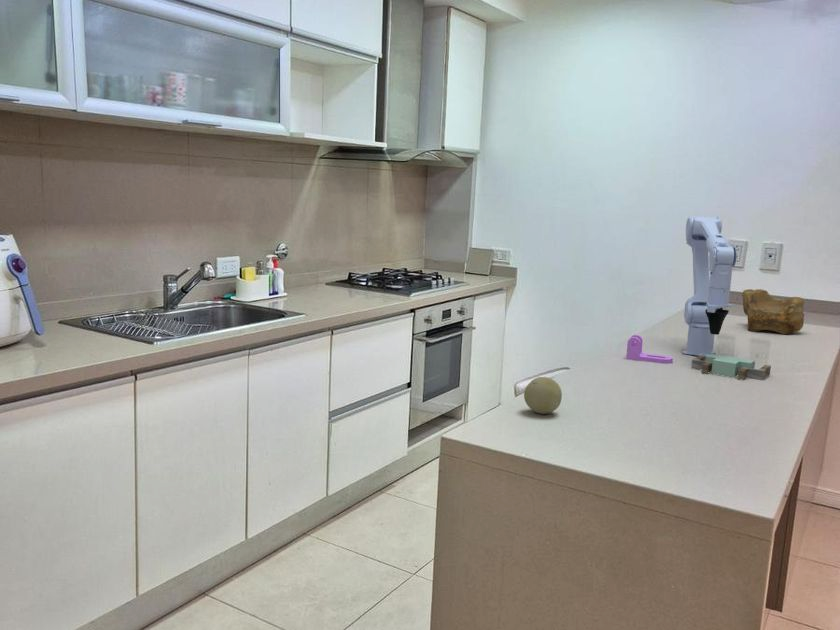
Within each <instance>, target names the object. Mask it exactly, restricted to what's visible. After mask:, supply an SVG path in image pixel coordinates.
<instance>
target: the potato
mask: <svg viewBox="0 0 840 630" xmlns="http://www.w3.org/2000/svg"><path fill="white" fill-rule="evenodd" d="M562 397H563V393H562V388H561V387H560V385H559V384H558V382H557V381H556V380H554V379H553V378H550V377H547V376H539V377H536V378H534V379H532V380H531V381H530V382H529V383H528V384H527V386H526V387H525V389H524V392H523V398H524V402H525V404H526V405H527V407H528V408H530V410H532V411H533V412H534V413H537V414H543V415H544V414H545V415H547V414H551V413H552V412H554V411H556V410H557V409H558V408H559V407H560V405H561V403H562Z"/></svg>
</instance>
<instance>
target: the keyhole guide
mask: <svg viewBox="0 0 840 630" xmlns="http://www.w3.org/2000/svg"><path fill="white" fill-rule="evenodd" d="M705 360H706V356H705V355H700V356H696V357H695V358H693V359H692V360H691V369H693V368H696V369H695V370H699V369H702V370H701V373H702V372H703V373H702V374H704V373H708V372H710V371H711V372H712V363H713V362H708V361H705ZM771 367H772V365H770V364H764V365H763V366H761V367H760V368H759V369H756V368H754V369H752V368H745V367H742V368H741V369H739V370H738V376H737V380H739V379H743V380H742V381H744V380H745V378H746V377H750V378H749V379H753V378H755V379H754V380H759V379H760V380H761V381H764V380H765V379H766V378H767V377H769V374H771ZM711 372H710V373H711ZM708 374H709V373H708ZM764 378H765V379H764ZM746 379H747V378H746Z"/></svg>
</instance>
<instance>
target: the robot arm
mask: <svg viewBox="0 0 840 630" xmlns="http://www.w3.org/2000/svg"><path fill="white" fill-rule="evenodd" d="M685 224H686V226H685V241H686V244H687V245H688V246H689V247H690V248H691V252H692V253H691V254H692V271H693V272H692V274H693V278H692V279H693V296H691V297H690V298H688V299H687V300H686V302H685V304H684V312H683V320H684V322H685V324H686V325H688V330H687V341H686V349H685V350H683V351H682V352H681V353H682V354H683V355H689V356H690V355H691V356H696V357H698V356H700V355H705V356H707V355H710V354H715V355H716V353H717V351H715V350H714V344H715V335H716V336H718V335H719V334H720V333H721V329H722V327H723V324H724V321H725V319H726V317H727V316H728V314H729V310H728V309H725V308H733V306H734V304H733V303H729V302H730V293H731V283H732V274H733V267H734V266H735V265H736V263H737V258H738V257H737V256H738V253H737V247H736V246H734V245H733V246H730V245H729V242H728V241H727V238H726V236H725V235H723V234H722V229H723V221H722V219H721V217H719V216H717V217H713V216H711V217H710V216H693V215H690V216H688V218H687V219H686V223H685Z"/></svg>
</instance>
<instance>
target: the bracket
mask: <svg viewBox="0 0 840 630" xmlns="http://www.w3.org/2000/svg"><path fill="white" fill-rule="evenodd" d="M626 345H627V346H626V347H627V348H626V357H625V358H626V360H631V361H640V362H647V363H656V364H666V365H669V363H670V364H673V363H674V362H673V359H674V358H673V357H672V356H668V355H661V354H654V353H653V354H652V353H643V351H642V350H643V337H642V336H641V335H639V334H633V335H632V336H630V338H629V339H628V340H627V344H626Z"/></svg>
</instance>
